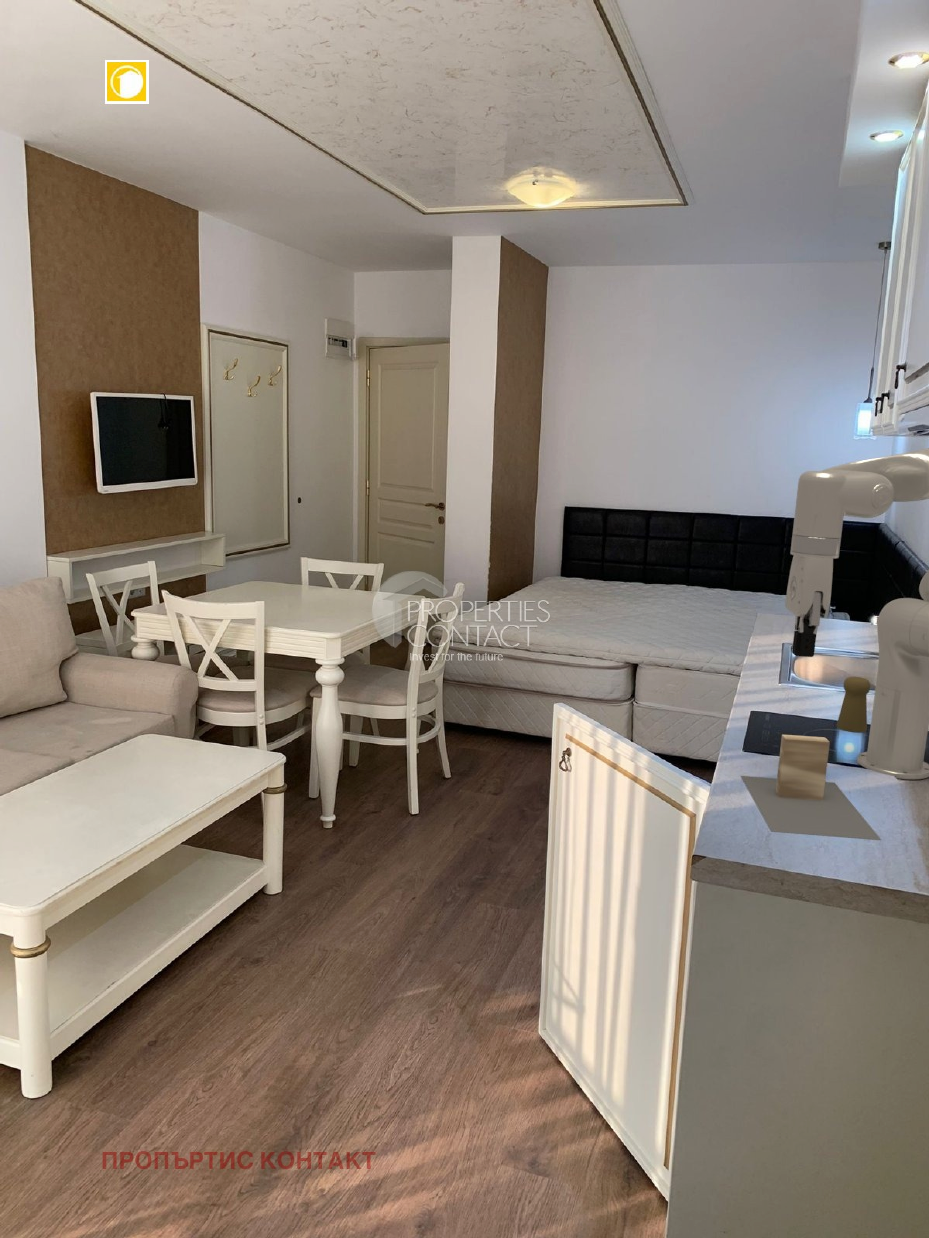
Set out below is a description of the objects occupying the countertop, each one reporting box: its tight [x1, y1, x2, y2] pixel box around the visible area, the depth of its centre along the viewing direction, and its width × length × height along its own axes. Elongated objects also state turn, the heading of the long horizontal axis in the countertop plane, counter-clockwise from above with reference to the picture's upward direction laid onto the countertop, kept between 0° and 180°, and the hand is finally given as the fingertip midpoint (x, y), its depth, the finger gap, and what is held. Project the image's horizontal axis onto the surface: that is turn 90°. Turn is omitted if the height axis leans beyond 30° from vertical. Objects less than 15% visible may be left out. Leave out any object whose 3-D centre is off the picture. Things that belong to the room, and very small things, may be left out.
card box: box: [776, 734, 831, 801], centre depth 154 cm, size 3×7×10 cm, turn 84°
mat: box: [740, 775, 882, 841], centre depth 151 cm, size 24×16×1 cm, turn 174°
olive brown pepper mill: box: [836, 676, 871, 734], centre depth 196 cm, size 6×6×11 cm
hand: (802, 655), depth 158 cm, fingers closed
